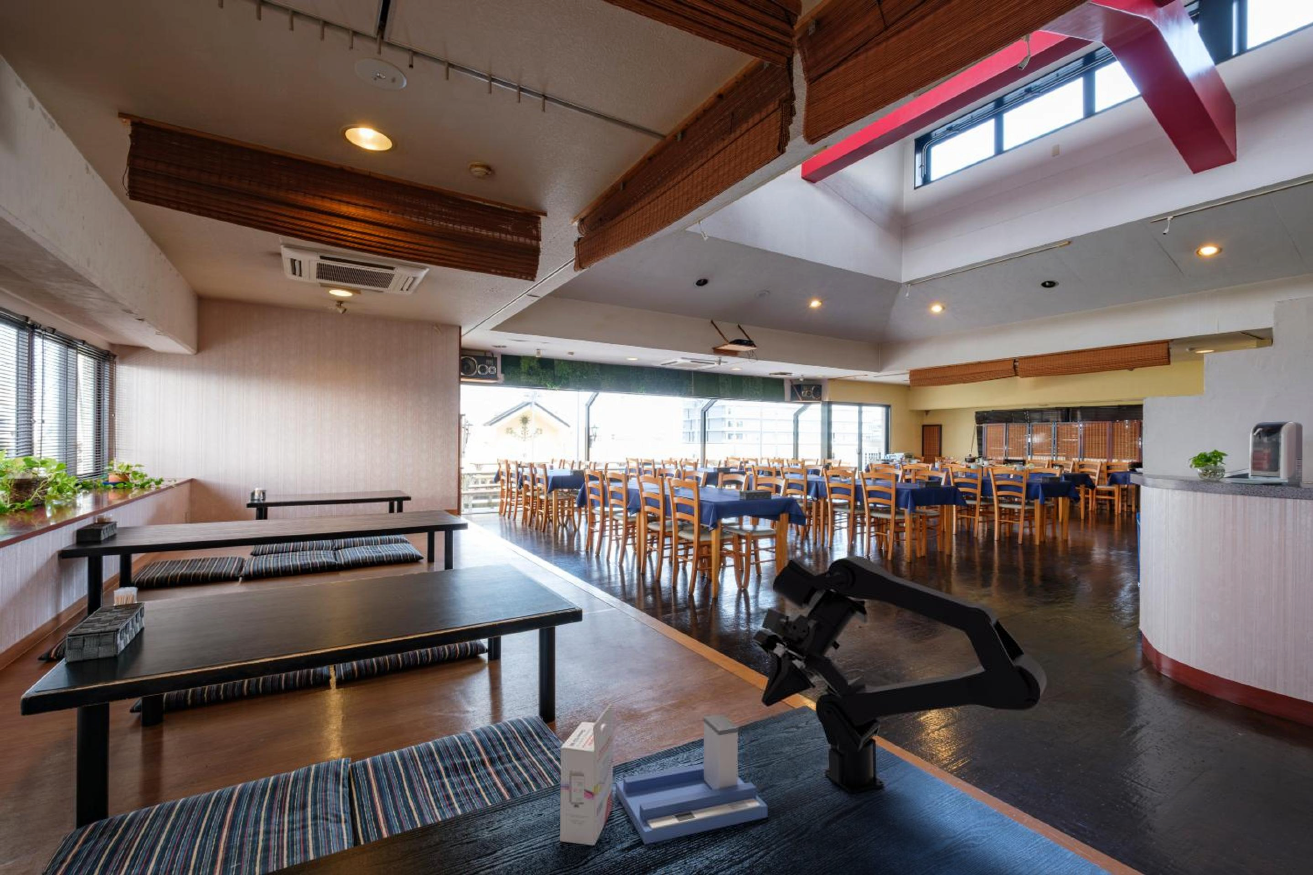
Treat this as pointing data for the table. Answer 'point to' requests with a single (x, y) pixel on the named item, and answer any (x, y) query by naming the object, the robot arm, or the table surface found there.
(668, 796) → the blue railed tray
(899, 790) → the table surface
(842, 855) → the table surface
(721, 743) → the switch tab
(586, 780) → the ink cartridge box
